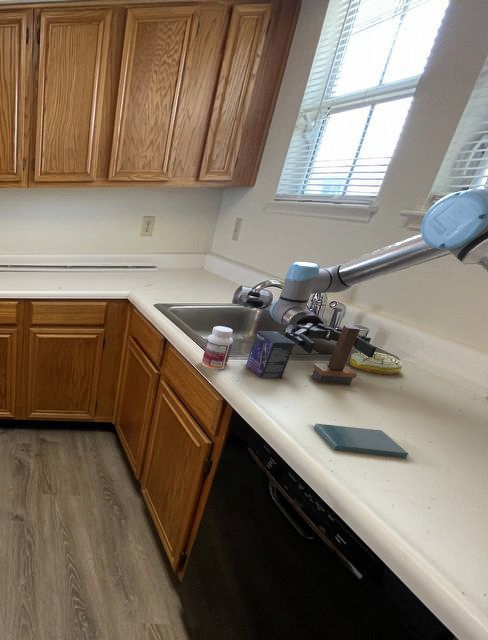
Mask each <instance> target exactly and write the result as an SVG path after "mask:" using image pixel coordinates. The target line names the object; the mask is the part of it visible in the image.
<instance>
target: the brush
mask: <svg viewBox="0 0 488 640" xmlns="http://www.w3.org/2000/svg"><path fill="white" fill-rule="evenodd" d="M360 331H361V328H359V327H357V326H355V325H346V324H345V325H343V326H342V331H341V334H340V336H339V339H338V341H336V343H335V347H334V348H333V352H332V354H331V356H330V359H329V361H328V364H323V363H314V364H313V365H312V369H313V371H312V374H311V377H312V378H313V379H314V380H315V381H316V382H317V383H319V384H329V385H340V386H351V383H352V382H353V379H354V378H356V377H357V376H358V373H357V372H356V371H354V370H353V369H352V368H350V367H349V366H348V365H347V362H348V360H349V357H350V356H351V355H350V354H351V353H352V351H353V349H354V346H353V345H354V343H355V341H356V338H357V336H358V334H359V333H360Z"/></svg>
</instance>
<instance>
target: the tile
mask: <svg viewBox="0 0 488 640" xmlns="http://www.w3.org/2000/svg"><path fill="white" fill-rule="evenodd" d="M313 429H314V430H315V431H316V432H317V433H318V435H320V437H322V438H323V439H324V441H325V442H326V443H327V444H328V445H329V446H330V447H331V449H332V450H333V451H339V452H340V451H341V452H348V453H349V452H350V453H355V454H356V453H357V454H366V455H375V456H383V457H393V458H399V459H400V458H401V459H406V458H407V457H408V455H409V453H408V452H407V451H406V450H405V449H404V448H403V447H402V446H401V445H399V444H398V443H397V442H396V441H395V440H393V438H391V437H390V436H389V435H388V434H386V432H384V431H383V429H382V430H381V429H372V428H362V427H353V426H346V425H345V426H344V425H334V424H326V423H325V424H324V423H315V425H314V426H313Z"/></svg>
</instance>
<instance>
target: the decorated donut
mask: <svg viewBox="0 0 488 640" xmlns="http://www.w3.org/2000/svg"><path fill="white" fill-rule="evenodd" d="M349 365H350V366H352V367H354V368H355V369H358V370H361V371H364V372H368V373H373V374H378V375H383V376H387V375H388V376H389V375H394V374H397V373H398V372H400V371H401V370H402V369H403V362H401V361H400V360H399V359H398V358H396V357H394V356H392V355H389V354H385V353H381V352H378V351H377V352H376V351H375V353H374V355H373V357H372V358H370V357H367V356H366V355H364V354H363V353H361V352H360V351H358V352H353V353H352V354H351V355H350V358H349Z"/></svg>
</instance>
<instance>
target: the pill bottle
mask: <svg viewBox="0 0 488 640" xmlns="http://www.w3.org/2000/svg"><path fill="white" fill-rule="evenodd" d="M233 332H234V329H232V328H230V327H227V326H222V325H216V326H214V327H213V328H212V333H211V334H209V335H208V336H207V339H206V343H205V347H204V352H203V355H202V360H201V365H202V366H204V367H206V368H209V369H212V370H225V369H226V368H227V366H228V363H229V358H230V355H231V352H232V347H233V344H234V339H233V338H232V337H231V336H233Z"/></svg>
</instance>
